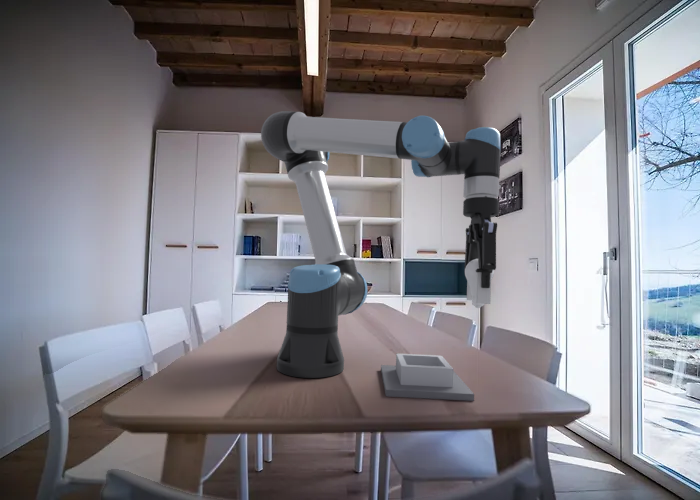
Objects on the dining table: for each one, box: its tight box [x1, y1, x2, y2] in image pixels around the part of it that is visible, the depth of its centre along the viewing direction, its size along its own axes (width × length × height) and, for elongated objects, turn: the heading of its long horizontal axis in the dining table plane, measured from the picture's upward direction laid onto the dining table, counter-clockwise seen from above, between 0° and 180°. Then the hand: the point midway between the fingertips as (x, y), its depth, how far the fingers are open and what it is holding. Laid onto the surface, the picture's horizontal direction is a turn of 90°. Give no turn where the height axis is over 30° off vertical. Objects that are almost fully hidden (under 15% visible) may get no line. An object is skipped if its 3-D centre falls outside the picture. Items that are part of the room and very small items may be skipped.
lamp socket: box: [380, 353, 475, 402], centre depth 72 cm, size 16×16×5 cm
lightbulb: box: [464, 259, 495, 309], centre depth 79 cm, size 6×6×11 cm
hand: (477, 301), depth 79 cm, fingers closed on lightbulb, 6 cm apart
